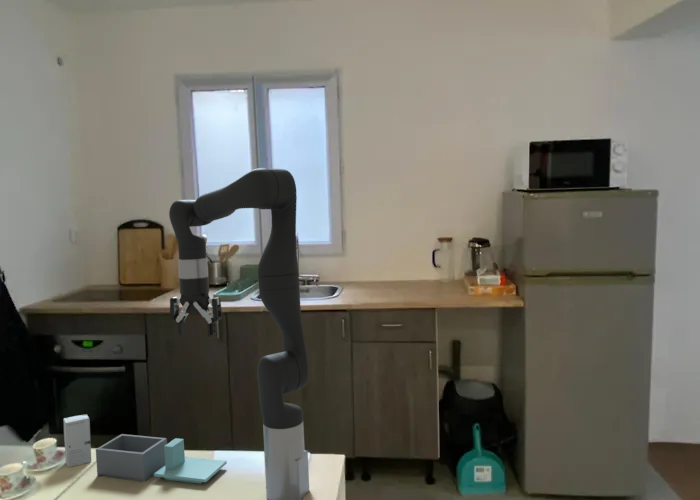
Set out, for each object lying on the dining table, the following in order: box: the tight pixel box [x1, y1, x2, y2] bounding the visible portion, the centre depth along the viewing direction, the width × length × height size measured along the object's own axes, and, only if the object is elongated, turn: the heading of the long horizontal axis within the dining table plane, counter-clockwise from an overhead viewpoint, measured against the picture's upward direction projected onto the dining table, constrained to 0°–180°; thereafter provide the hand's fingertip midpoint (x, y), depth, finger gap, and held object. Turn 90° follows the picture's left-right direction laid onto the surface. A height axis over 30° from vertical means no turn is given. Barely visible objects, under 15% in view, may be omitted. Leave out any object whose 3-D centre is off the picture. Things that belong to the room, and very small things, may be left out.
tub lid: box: [153, 437, 228, 485], centre depth 146 cm, size 14×10×8 cm
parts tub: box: [95, 433, 168, 483], centre depth 150 cm, size 14×10×7 cm
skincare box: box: [62, 413, 92, 468], centre depth 156 cm, size 6×4×12 cm
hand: (197, 336), depth 154 cm, fingers open, 8 cm apart
